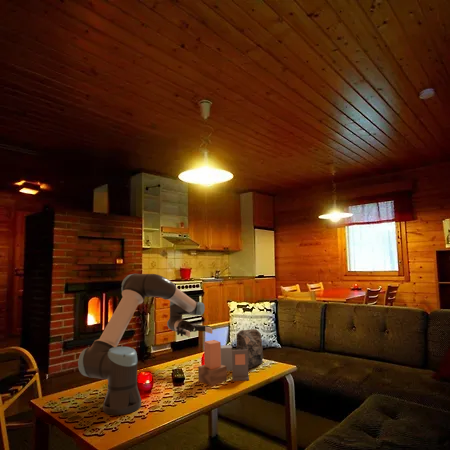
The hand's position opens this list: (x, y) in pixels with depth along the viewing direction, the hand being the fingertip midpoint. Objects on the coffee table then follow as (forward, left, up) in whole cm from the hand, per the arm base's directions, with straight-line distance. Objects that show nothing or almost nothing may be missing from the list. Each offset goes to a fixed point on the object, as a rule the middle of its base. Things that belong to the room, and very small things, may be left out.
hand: (200, 332), depth 183 cm
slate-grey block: (+14, +7, -22) cm, 27 cm away
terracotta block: (+6, -10, -15) cm, 19 cm away
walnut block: (+6, -10, -22) cm, 24 cm away
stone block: (+28, +11, -22) cm, 37 cm away
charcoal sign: (+20, -10, -22) cm, 31 cm away
